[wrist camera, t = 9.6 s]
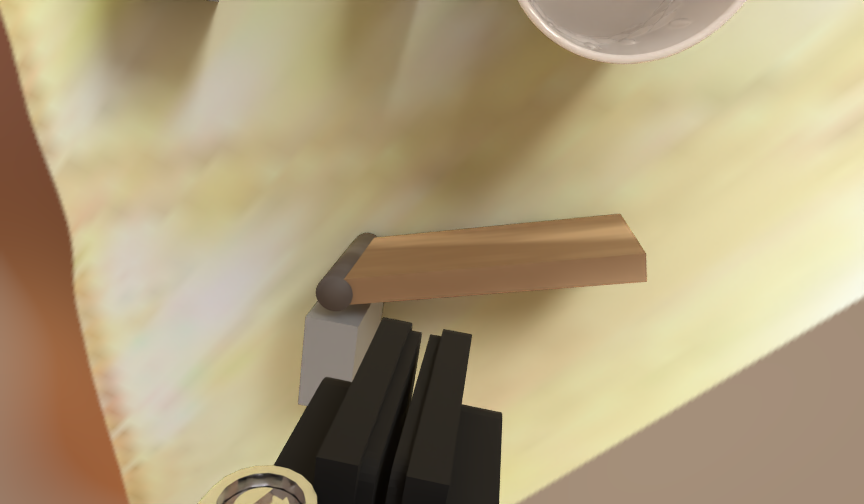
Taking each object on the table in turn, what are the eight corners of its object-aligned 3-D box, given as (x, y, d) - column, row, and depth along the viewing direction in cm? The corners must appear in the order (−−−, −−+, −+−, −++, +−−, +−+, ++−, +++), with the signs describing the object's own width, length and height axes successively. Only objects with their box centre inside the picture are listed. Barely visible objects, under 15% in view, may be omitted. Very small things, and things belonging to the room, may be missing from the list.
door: (620, 238, 30) (647, 287, 24) (356, 262, 32) (319, 312, 26) (619, 208, 30) (646, 249, 23) (350, 234, 32) (312, 278, 26)
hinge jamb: (387, 274, 32) (358, 327, 26) (377, 348, 34) (347, 414, 28) (344, 266, 33) (305, 316, 27) (336, 340, 34) (298, 404, 28)
